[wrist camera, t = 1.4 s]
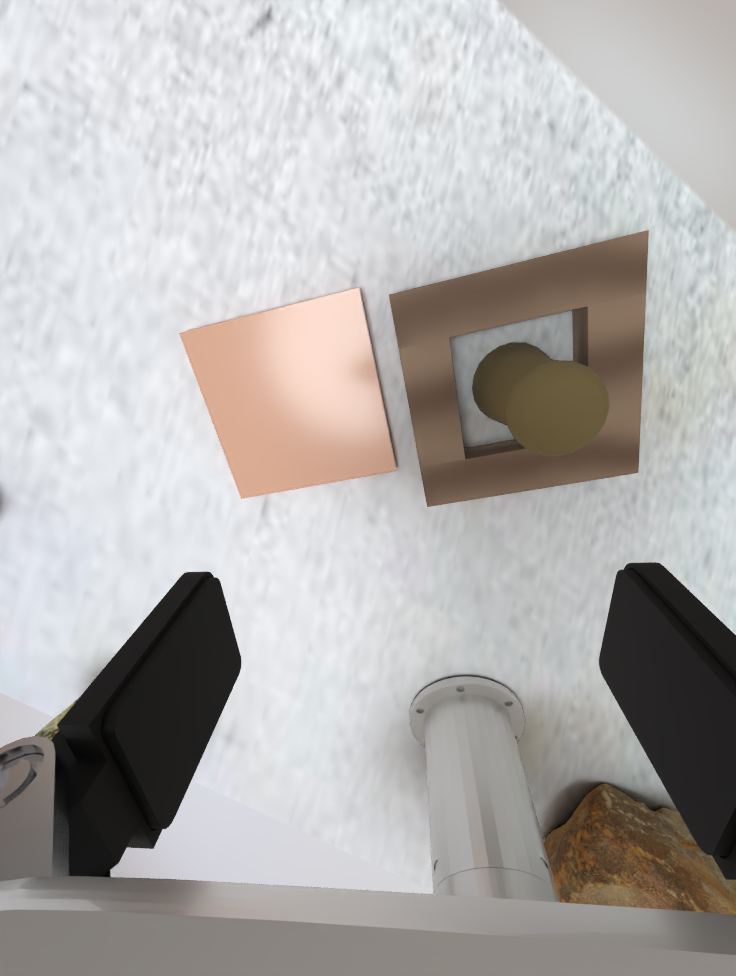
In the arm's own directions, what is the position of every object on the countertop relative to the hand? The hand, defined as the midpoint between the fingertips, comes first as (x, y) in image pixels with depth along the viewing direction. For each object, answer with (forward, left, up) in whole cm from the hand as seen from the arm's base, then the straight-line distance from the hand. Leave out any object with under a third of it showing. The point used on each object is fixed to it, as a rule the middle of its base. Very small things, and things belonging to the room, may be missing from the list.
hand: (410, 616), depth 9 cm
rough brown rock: (-56, -16, -25) cm, 63 cm away
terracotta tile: (+2, +8, -24) cm, 26 cm away
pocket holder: (0, -9, -24) cm, 26 cm away
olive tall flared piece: (0, -9, -25) cm, 26 cm away
